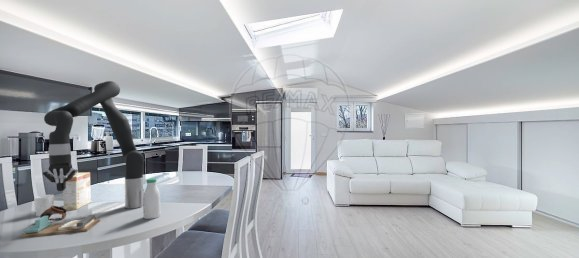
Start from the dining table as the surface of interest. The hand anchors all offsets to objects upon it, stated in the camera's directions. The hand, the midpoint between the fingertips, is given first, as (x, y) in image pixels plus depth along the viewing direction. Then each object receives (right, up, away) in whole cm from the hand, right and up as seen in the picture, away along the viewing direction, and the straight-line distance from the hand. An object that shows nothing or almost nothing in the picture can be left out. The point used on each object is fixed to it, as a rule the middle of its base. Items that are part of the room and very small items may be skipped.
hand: (61, 190), depth 117 cm
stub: (-9, -17, -2) cm, 19 cm away
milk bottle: (+34, -18, +15) cm, 41 cm away
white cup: (-29, -19, +22) cm, 41 cm away
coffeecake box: (-23, -19, +36) cm, 47 cm away
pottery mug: (-15, -19, +11) cm, 27 cm away
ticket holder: (+2, -18, +1) cm, 18 cm away
